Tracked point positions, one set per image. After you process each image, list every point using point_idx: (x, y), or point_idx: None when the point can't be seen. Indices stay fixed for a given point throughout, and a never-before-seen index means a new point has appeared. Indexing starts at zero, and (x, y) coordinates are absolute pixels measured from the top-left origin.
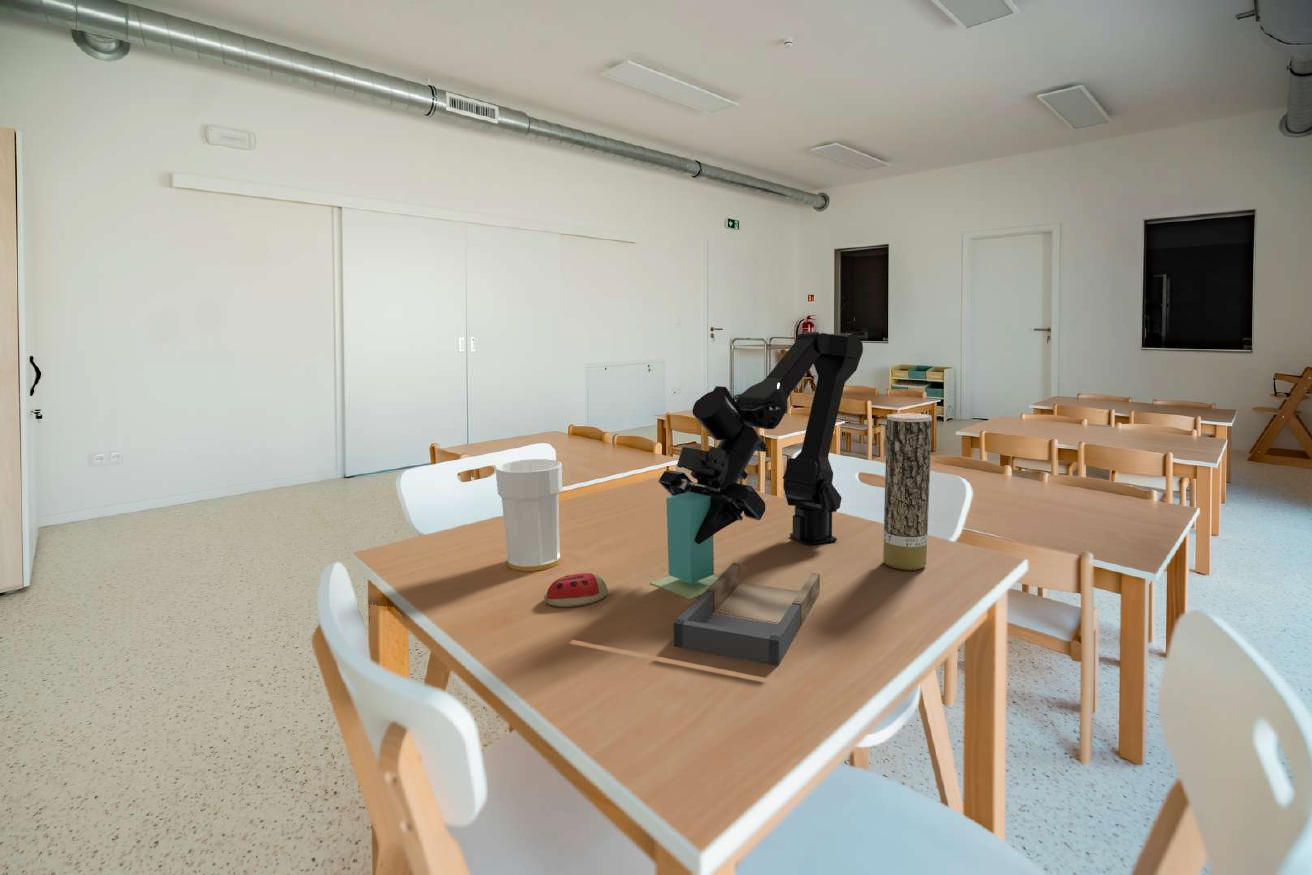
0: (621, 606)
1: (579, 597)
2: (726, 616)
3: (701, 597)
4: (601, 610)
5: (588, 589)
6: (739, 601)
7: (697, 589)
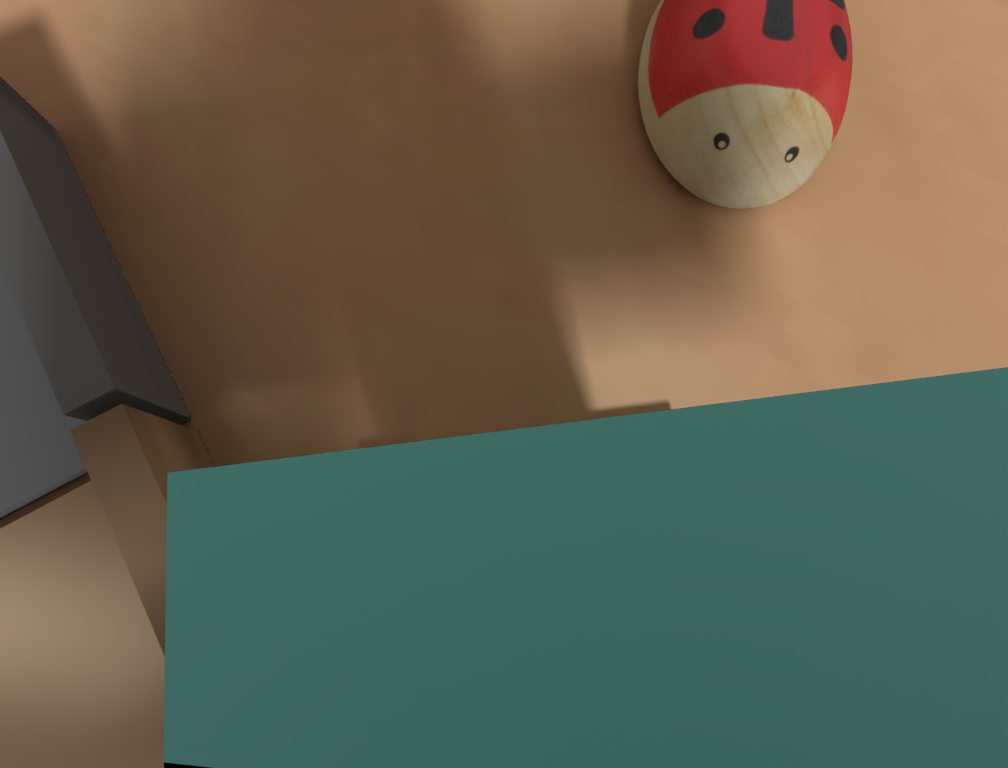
0: (536, 183)
1: (653, 25)
2: (68, 467)
3: (64, 314)
4: (552, 104)
5: (671, 50)
6: (146, 662)
7: None
